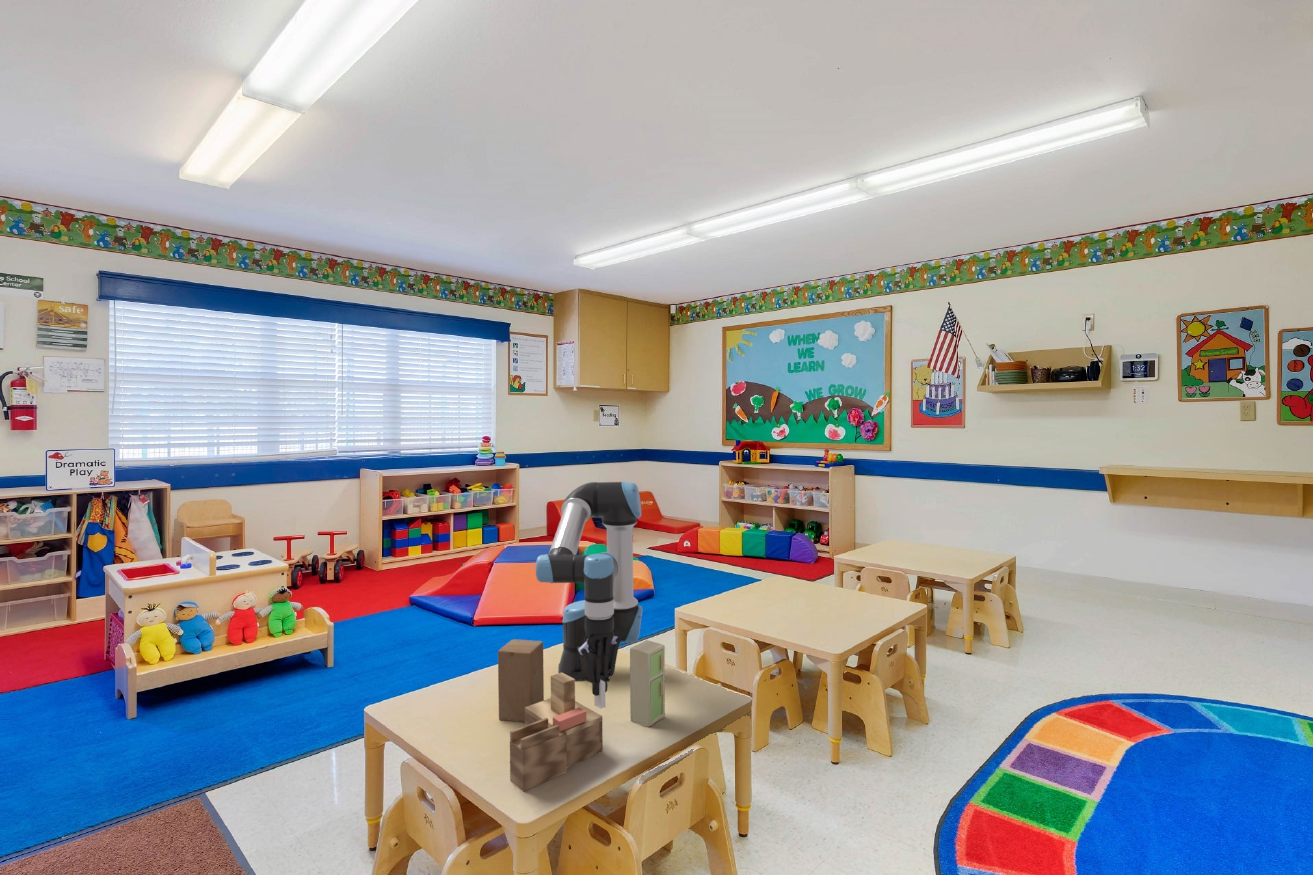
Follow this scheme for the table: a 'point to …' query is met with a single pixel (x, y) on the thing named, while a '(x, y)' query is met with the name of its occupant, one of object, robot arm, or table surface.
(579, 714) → the pink rectangular block
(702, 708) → the table surface
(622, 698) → the table surface
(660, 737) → the table surface
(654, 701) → the toy refrigerator
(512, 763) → the brown wooden open box
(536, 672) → the wooden block
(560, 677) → the lid
